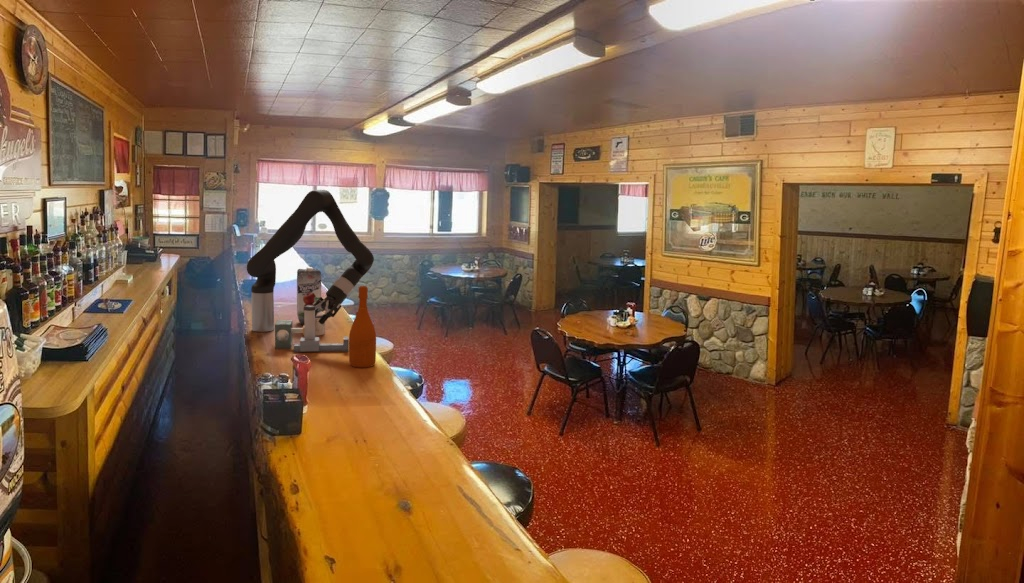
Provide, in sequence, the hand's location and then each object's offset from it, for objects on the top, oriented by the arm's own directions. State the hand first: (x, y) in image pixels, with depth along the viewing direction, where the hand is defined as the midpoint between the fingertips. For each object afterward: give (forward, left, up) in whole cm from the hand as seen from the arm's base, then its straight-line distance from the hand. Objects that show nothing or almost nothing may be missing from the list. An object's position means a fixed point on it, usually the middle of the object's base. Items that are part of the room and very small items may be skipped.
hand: (314, 321), depth 258 cm
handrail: (+1, +2, -12) cm, 12 cm away
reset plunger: (-7, -8, -7) cm, 13 cm away
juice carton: (-50, -5, -12) cm, 52 cm away
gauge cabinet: (-7, -12, -12) cm, 18 cm away
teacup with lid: (-27, -1, -12) cm, 29 cm away
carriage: (+1, -2, -12) cm, 12 cm away
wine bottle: (+23, +18, -12) cm, 32 cm away
